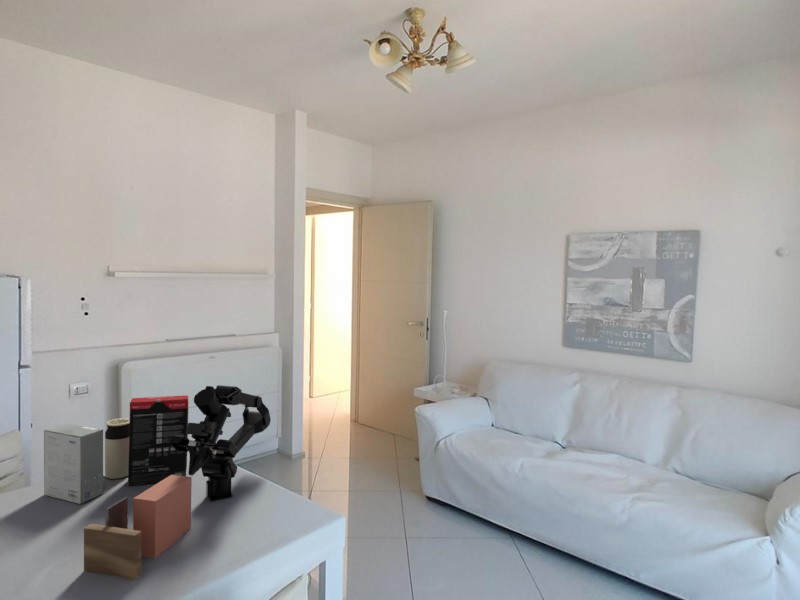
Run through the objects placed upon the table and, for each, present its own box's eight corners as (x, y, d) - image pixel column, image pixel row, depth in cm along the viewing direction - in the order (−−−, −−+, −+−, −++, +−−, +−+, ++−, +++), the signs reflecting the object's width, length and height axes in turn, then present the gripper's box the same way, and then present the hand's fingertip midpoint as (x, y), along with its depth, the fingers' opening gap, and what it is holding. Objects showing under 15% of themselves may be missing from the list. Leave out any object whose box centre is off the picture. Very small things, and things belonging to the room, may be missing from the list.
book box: (170, 525, 129) (171, 474, 128) (190, 528, 128) (191, 477, 127) (132, 554, 115) (133, 498, 115) (155, 558, 114) (155, 501, 114)
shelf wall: (91, 565, 111) (91, 523, 110) (141, 574, 108) (141, 531, 108) (83, 571, 109) (83, 528, 108) (134, 579, 106) (134, 535, 106)
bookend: (110, 551, 116) (111, 494, 116) (127, 553, 116) (127, 497, 115) (90, 565, 111) (90, 506, 110) (108, 568, 110) (108, 509, 109)
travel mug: (132, 477, 158) (133, 423, 157) (104, 481, 154) (104, 426, 153) (132, 468, 164) (133, 416, 164) (105, 472, 161) (105, 419, 160)
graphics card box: (187, 472, 163) (188, 393, 162) (187, 480, 157) (188, 398, 155) (130, 479, 156) (130, 396, 155) (127, 488, 150) (128, 402, 148)
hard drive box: (104, 494, 145) (104, 429, 144) (80, 505, 138) (80, 437, 137) (67, 484, 150) (67, 422, 149) (42, 495, 143) (42, 429, 142)
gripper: (173, 407, 138) (145, 458, 128) (232, 412, 135) (209, 466, 124) (189, 425, 146) (165, 475, 136) (246, 431, 143) (225, 483, 132)
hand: (190, 474), depth 132 cm, fingers closed
